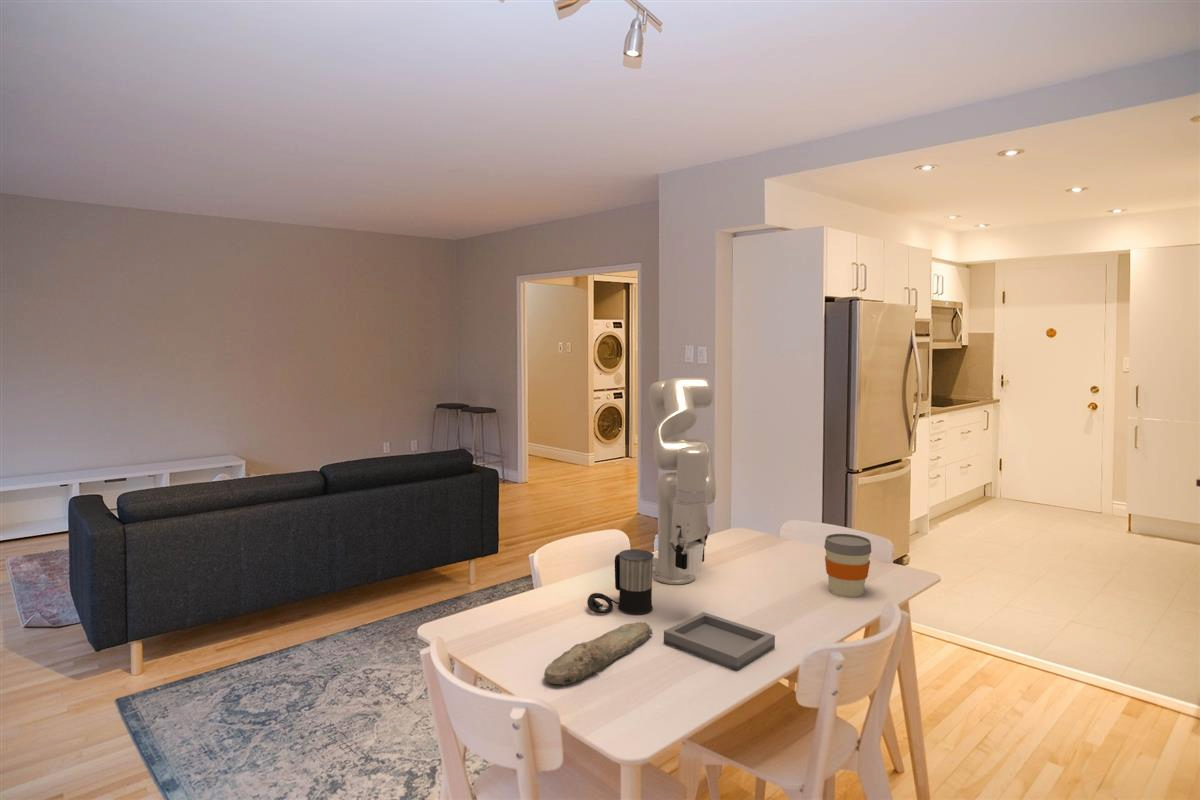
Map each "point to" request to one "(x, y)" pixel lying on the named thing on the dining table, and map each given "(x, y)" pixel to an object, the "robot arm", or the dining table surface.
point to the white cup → (693, 557)
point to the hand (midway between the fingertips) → (689, 563)
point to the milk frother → (629, 584)
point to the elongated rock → (596, 653)
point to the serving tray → (719, 640)
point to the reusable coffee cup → (847, 563)
